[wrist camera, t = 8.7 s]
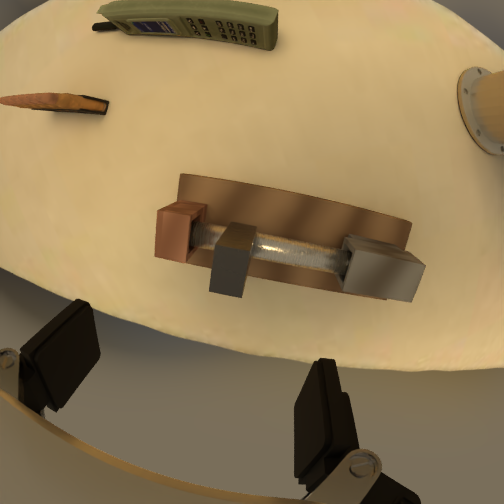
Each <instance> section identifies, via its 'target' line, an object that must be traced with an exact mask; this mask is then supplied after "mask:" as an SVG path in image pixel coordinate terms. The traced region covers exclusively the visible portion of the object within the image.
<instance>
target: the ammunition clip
mask: <svg viewBox="0 0 504 504" xmlns="http://www.w3.org/2000/svg"><path fill="white" fill-rule="evenodd" d="M0 103H1V104H3V105H9V106H17V107H20V108H31V109H32V110H44V111H57V112H76V113H89V114H100V115H105V114H106V111H107V107H108V104H109V101H106V100H102V99H98V98H94V97H90V96H85V95H73V94H68V93H63V94H60V93H35V94H25V95H13V96H6V97H1V98H0Z"/></svg>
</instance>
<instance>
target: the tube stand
mask: <svg viewBox="0 0 504 504" xmlns="http://www.w3.org/2000/svg"><path fill="white" fill-rule="evenodd" d="M192 220H193V221H199V222H204V223H210V224H215V225H221V226H226V227H228V225H229V224H230V222H237V223H242V224H247V225H253V226H257V230H256V232H258V233H263V234H268V235H273V236H278V237H283V238H288V239H293V240H298V241H303V242H308V243H313V244H318V245H323V246H328V247H333V248H337V249H342V250H347V251H351V252H352V257H351V260H350V263H349V267H348V270H347V273H346V276H344V275H339V274H334V273H328V272H323V271H318V270H313V269H307V268H302V267H297V266H292V265H286V264H281V263H276V262H271V261H266V260H260V259H255V258H251V262H250V266H249V270H248V274H247V276H252V277H257V278H262V279H267V280H273V281H278V282H283V283H289V284H294V285H300V286H305V287H311V288H316V289H322V290H328V291H333V292H339V293H345V294H351V295H357V296H363V297H369V298H375V299H382V300H387V299H393V300H399V301H405V302H412V300H413V298H414V295H415V293H416V290H417V288H418V285H419V283H420V280H421V278H422V275H423V272H424V270H425V267H426V265H425V264H423V263H422V262H421V261H420V260H419V259H417V258H416V257H415V256H414V255H412V254H411V253H410V252H408V251H404V250H405V247H406V243H407V240H408V237H409V233H410V230H411V226H412V223H411V222H409V221H406V220H403V219H399V218H396V217H392V216H389V215H385V214H382V213H378V212H374V211H371V210H367V209H363V208H359V207H355V206H351V205H347V204H343V203H339V202H335V201H331V200H326V199H322V198H318V197H313V196H309V195H304V194H299V193H295V192H290V191H285V190H280V189H275V188H270V187H264V186H259V185H254V184H248V183H242V182H236V181H230V180H224V179H218V178H212V177H205V176H198V175H191V174H180V179H179V187H178V195H177V202H174V203H172V204H170V205H168V206H166V207H164V208H161V209H159V210H157V223H156V237H155V257H158V258H163V259H167V260H172V261H177V262H181V263H188V264H192V265H197V266H202V267H207V268H212V263H213V255H214V250H209V249H204V248H199V247H194V246H189V240H190V231H191V222H192Z"/></svg>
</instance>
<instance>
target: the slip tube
mask: <svg viewBox="0 0 504 504" xmlns="http://www.w3.org/2000/svg"><path fill="white" fill-rule="evenodd" d="M256 230H257V226H253V225H247V224H242V223H237V222H230V224H229V225H228V227H226V226H221V225H215V224H210V223H204V222H199V221H193V220H192V222H191V231H190V240H189V246H194V247H199V248H204V249H209V250H214V255H213V263H212V271H211V279H210V287H209V292H214V293H219V294H224V295H228V296H233V297H238V298H242V295H243V291H244V287H245V282H246V278H247V274H248V270H249V266H250V262H251V258H255V259H260V260H266V261H271V262H276V263H281V264H286V265H292V266H297V267H302V268H307V269H313V270H318V271H323V272H328V273H334V274H339V275H344V276H346V273H347V270H348V267H349V263H350V260H351V257H352V252H351V251H347V250H342V249H337V248H333V247H328V246H323V245H318V244H313V243H308V242H303V241H298V240H293V239H288V238H283V237H278V236H273V235H268V234H263V233H258V232H256Z"/></svg>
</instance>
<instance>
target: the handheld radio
mask: <svg viewBox="0 0 504 504" xmlns="http://www.w3.org/2000/svg"><path fill="white" fill-rule="evenodd" d="M97 13H98V14H102V15H103V16H104V17H105V18H107V19H108V20H109V21H110V22H101V23H95V24H94V25H93V26H92V30H93V31H100V30H111V29H116V28H119V29H121V30H122V31H123V32H125V33H126V34H152V35H173V36H186V37H196V38H205V39H212V40H219V41H225V42H231V43H237V44H242V45H247V46H252V47H256V48H261V49H265V50H269V51H271V50H273V49H274V47H275V44H276V41H277V36H278V10H277V9H276V8H272V7H268V6H263V5H257V4H252V3H246V2H239V1H231V0H120V1H113V2H111V3H109V4H106V5H102V6H101V7H100V8H99V10H98V11H97Z"/></svg>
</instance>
